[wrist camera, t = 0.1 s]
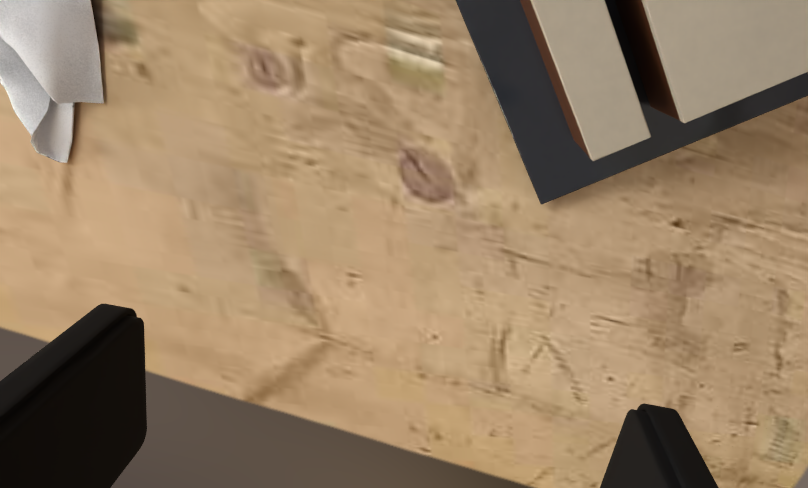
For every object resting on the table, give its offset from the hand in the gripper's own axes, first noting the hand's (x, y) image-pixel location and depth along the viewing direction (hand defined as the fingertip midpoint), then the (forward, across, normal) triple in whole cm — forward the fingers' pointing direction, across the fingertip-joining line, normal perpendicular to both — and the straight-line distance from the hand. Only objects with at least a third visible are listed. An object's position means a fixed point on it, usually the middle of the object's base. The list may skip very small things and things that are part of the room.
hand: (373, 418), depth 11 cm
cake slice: (+26, -6, -6) cm, 28 cm away
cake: (+26, -12, -10) cm, 31 cm away
